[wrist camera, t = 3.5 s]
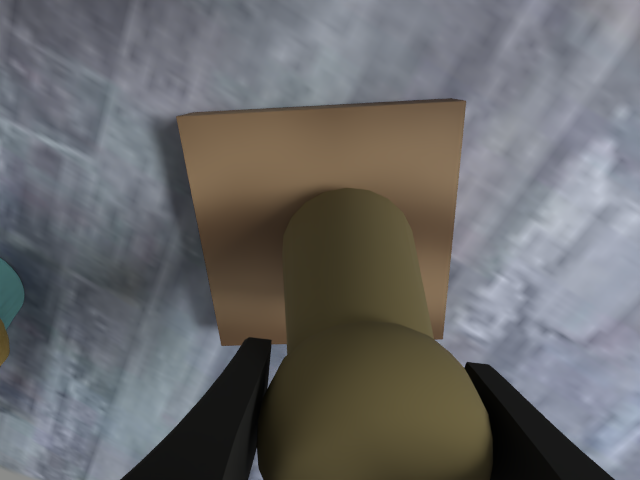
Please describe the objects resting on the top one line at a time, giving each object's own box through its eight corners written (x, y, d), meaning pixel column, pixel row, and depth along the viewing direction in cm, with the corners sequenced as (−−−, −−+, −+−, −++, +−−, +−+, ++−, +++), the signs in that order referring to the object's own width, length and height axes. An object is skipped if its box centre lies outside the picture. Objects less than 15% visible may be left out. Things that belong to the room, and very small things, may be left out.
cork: (257, 267, 17) (168, 538, 7) (329, 160, 15) (339, 338, 5) (362, 325, 19) (405, 620, 9) (442, 234, 17) (620, 488, 7)
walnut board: (430, 312, 22) (442, 339, 20) (232, 318, 23) (221, 345, 20) (447, 98, 17) (465, 100, 15) (195, 111, 18) (176, 116, 16)
